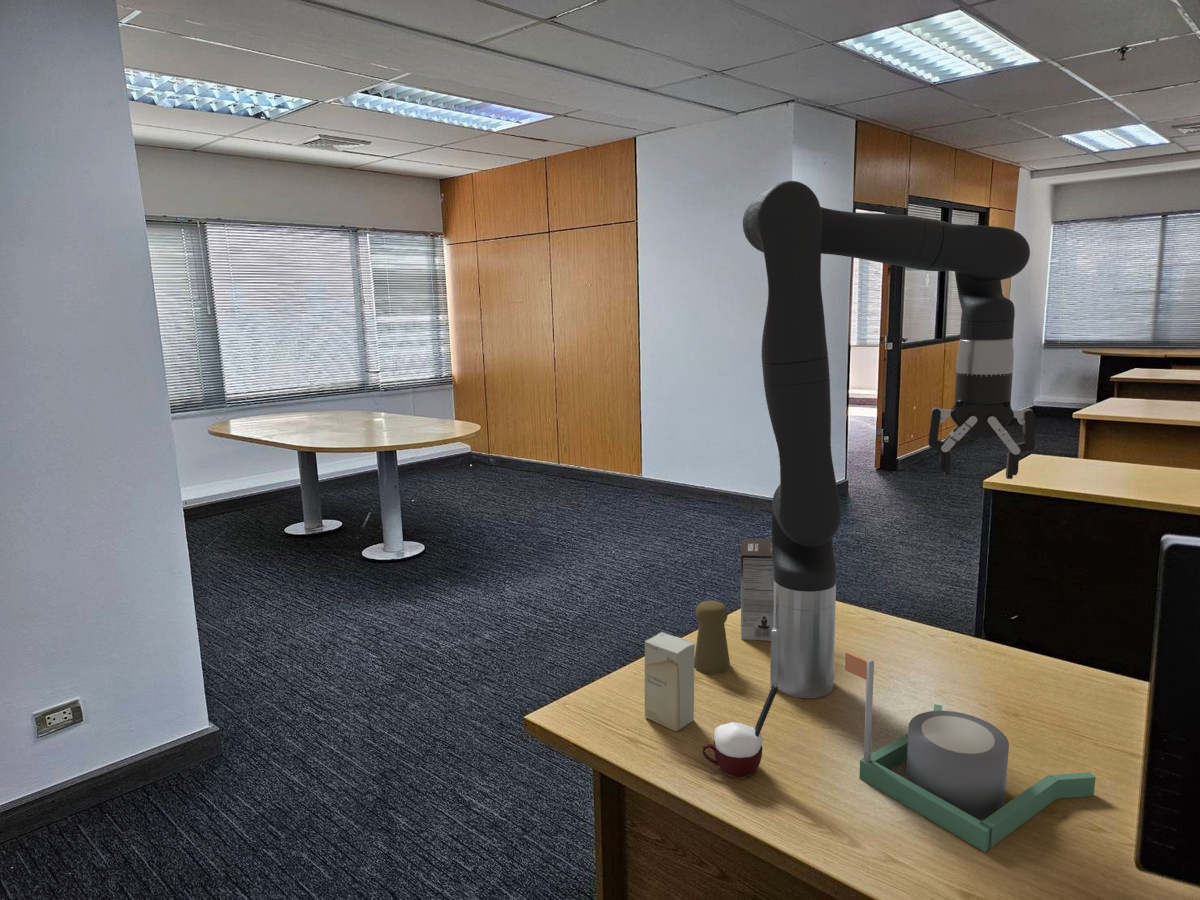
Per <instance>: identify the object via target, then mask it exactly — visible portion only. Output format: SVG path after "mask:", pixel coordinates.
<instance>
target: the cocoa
mask: <svg viewBox="0 0 1200 900" xmlns="http://www.w3.org/2000/svg"><path fill="white" fill-rule="evenodd" d="M778 691H779V690H778V686H777V683H776V682H774V683H773V685H772V687H771V688H770V690H769V692H768V694H767V696H766V697H767V698H766V700H765V702H764V705H763V707H762V709H761V712H760V714H759V717H758V720H757V721H756V724H755V726H754V727H753V726H750V725H746V724H745V723H741V722H733V721H731V722H728V723H727V722H726V723H724V724H721V725H718V726H717V727H715V728H714V739H713V744H709V743H706V744H704V745H703V747H702V749H701V750H702V751H701V752H702V755H703V757H704V758H705V759H706V760H707V761H708V762H709V763H711V764H713V765H714V766H716V767H719V770H721V771H722V772H723V773H724V774H726V775H728V776H730V777H734V778H746V777H749V776H751V775H753V774H754V773H755V772H756V771H757V769H758V768H759V767H760V764H761V761H762V756H763V741H764V738H763V735H762V733H761V731H762V728H763V726H764V723H766V722H765V721H766V719H767V716H768V714H769V712H770V709H771V706H772V704H773V703H774V700H775V697H776V695H777V692H778ZM707 749H710V750H712V751H713V753H714V757H715V759H714V758H712V757H711V756H709V754H707V753H706V750H707Z"/></svg>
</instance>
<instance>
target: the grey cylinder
mask: <svg viewBox="0 0 1200 900" xmlns="http://www.w3.org/2000/svg"><path fill="white" fill-rule="evenodd" d="M907 731H908V732H907V734H908V748H907V760H906V772H905V775H906V776H905V779H907V780H909V781H910V782H912V783H914V784H916V785H918V786H919V787H921V788H923V789H925V790H926V791H928V792H930V793H932V794H934V795H935V796H937V797H939V798H941V799H943V800H944V801H946V802H948V803H950V804H951V805H953V806H955V807H957V808H959V809H960V810H962V811H964V812H966V813H968V814H969V815H971V816H973V817H975V818H976V819H978V820H985V819H986V818H987V817H989V816H990V815H992V814H993V813H995V812H996V811H997V810H999V809H1000V808H1002V807H1003V806H1004V805H1006V804H1005V802H1006V793H1007V792H1006V789H1007V779H1008V778H1007V777H1008V765H1009V764H1008V763H1009V751H1010V748H1009V747H1010V744H1009V740H1008V737H1007V736H1006V735H1005V734H1004V733H1003V731H1001V730H1000V729H999V728H998V727H997V726H995V725H993V724H992V723H990V722H988V721H987V720H984V719H981V718H980V717H976V716H974V715H970V714H968V713H964V712H958V711H952V710H942V711H934V710H931V711H929V710H928V711H924V712H921V713H919V714H917V715H915V716H913V717H912V718H911V720H909V723H908V730H907Z"/></svg>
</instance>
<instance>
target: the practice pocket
mask: <svg viewBox="0 0 1200 900" xmlns="http://www.w3.org/2000/svg"><path fill="white" fill-rule="evenodd" d="M844 654H845V655H844V671H847V672H848V673H850V674H853V675H854V676H857V677H858V678H861V679H863V680H865V682H866V684H865V709H864V710H865V711H864V712H865V713H864V715H865V716H864V717H865V718H864V741H863V742H864V743H863V757H862V759H860V760H859V779H860V778H861V780H862V781H864V782H866V783H867V782H868V783H867V784H869V785H871V786H872V785H873V786H872V787H874V788H875V789H877V790H879V791H881V793H884V794H886V795H887V796H889V797H891V798H892V799H894V800H896V801H897V802H900V803H901V804H902V805H905V806H906V807H908V808H909V809H911V810H913V811H914V812H917V813H918V814H919V815H921V816H923V817H924V818H926V819H928V820H929V821H931V822H933V823H935V824H936V825H938V826H939V827H942V828H943V829H945V830H947V831H948V832H950V833H951V834H953V835H955V836H957V837H958V838H961V839H962V840H964V841H965V842H967V843H968V844H970V845H972V846H974V847H975V848H977V849H979V850H980V851H982V852H983V853H986V852H988V851H989V849H991V848H993V847H994V846H995V845H997V844H998V843H999V842H1001V841H1002V840H1004V839H1005V838H1006V837H1007V836H1008V835H1010V834H1011V833H1013V832H1014V831H1015V830H1017V829H1018V828H1019V827H1021V826H1022V825H1023V824H1025V823H1026V822H1028V820H1030V819H1031V818H1033V817H1034V816H1035V815H1037V814H1038V813H1040V811H1042V810H1043V809H1044V808H1046V807H1047V806H1049V805H1050V804H1051V803H1052V802H1055V800H1058V799H1071V798H1073V799H1074V798H1084V797H1085V798H1086V797H1094V796H1095V789H1096V788H1095V787H1096V785H1095V784H1096V776H1095V775H1094V774H1093V773H1092V772H1091V771H1089V772H1075V773H1074V772H1073V773H1062V774H1059V773H1058V774H1050V775H1048V774H1047V775H1045V776H1044V777H1043V778H1041V779H1040V780H1039V781H1037V782H1036V783H1034V784H1033V785H1031V786H1030V787H1028V788H1027V789H1026V790H1024V791H1022V793H1020V794H1018V795H1017V796H1015V797H1014V798H1013V799H1012V800H1010V801H1009V802H1007V803H1006V804H1004V806H1003V807H1002V808H1000V809H999V810H997V811H996V812H995V813H993V814H992V815H990V816H989V817H987V818H985V819H982V820H981V819H976V818H975V817H973V816H971V815H969V814H968V813H966V812H964V811H962V810H960V809H959V808H957V807H955V806H953V805H951V804H950V803H948V802H946V801H944V800H943V799H941V798H939V797H937V796H935V795H934V794H932V793H930V792H928V791H926V790H925V789H923V788H921V787H919V786H918V785H916V784H914V783H912V782H910V781H909V780H907V779H906V777H903V776H902V775H900V774H898V773H896V772H894V771H892V769H893V768H895V767H897V766H899V765H901V764H902V763H904V762H907V748H908V733H907V734H905V735H903V736H901V737H900V738H898V739H896V740H894V741H892V742H891V743H889V744H887V745H884V746H883V747H882V748H880V749H878V750H875V751H874V752H872V729H873V728H872V727H873V704H874V702H873V701H874V700H873V699H874V697H873V696H874V675H875V673H874V672H875V671H874V670H875V661H874V659H865V658H863V657H860V656H859V655H856V654H854V653H852V652H849V651H845V653H844ZM933 711H943V705H940V704H936V703H935V704H933Z"/></svg>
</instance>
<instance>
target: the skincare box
mask: <svg viewBox="0 0 1200 900" xmlns="http://www.w3.org/2000/svg"><path fill="white" fill-rule="evenodd" d="M695 651H696V644H695V642H692V641H689V640H688V639H684V638H681V637H678V636H674V635H673V634H669V633H667V632H664V631H660V632H659V633H656V634H654V635H653V636H650V637H649V638H648V639H645V640H644V717H645V718H646V719H649V720H650V721H653V722H654V723H657V724H659V725H661V726H664V727H666V728H667V729H670V730H672V731H673V732H674V731H675V732H678V731H680V730H681V729H683V728H685V727H686V726H687V725H688V724H690V723H691V722H693V721H694V720H695V719H694V718H695V717H694V716H695V713H694V712H695V708H694V707H695V706H694V705H695V668H694V659H695Z"/></svg>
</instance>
